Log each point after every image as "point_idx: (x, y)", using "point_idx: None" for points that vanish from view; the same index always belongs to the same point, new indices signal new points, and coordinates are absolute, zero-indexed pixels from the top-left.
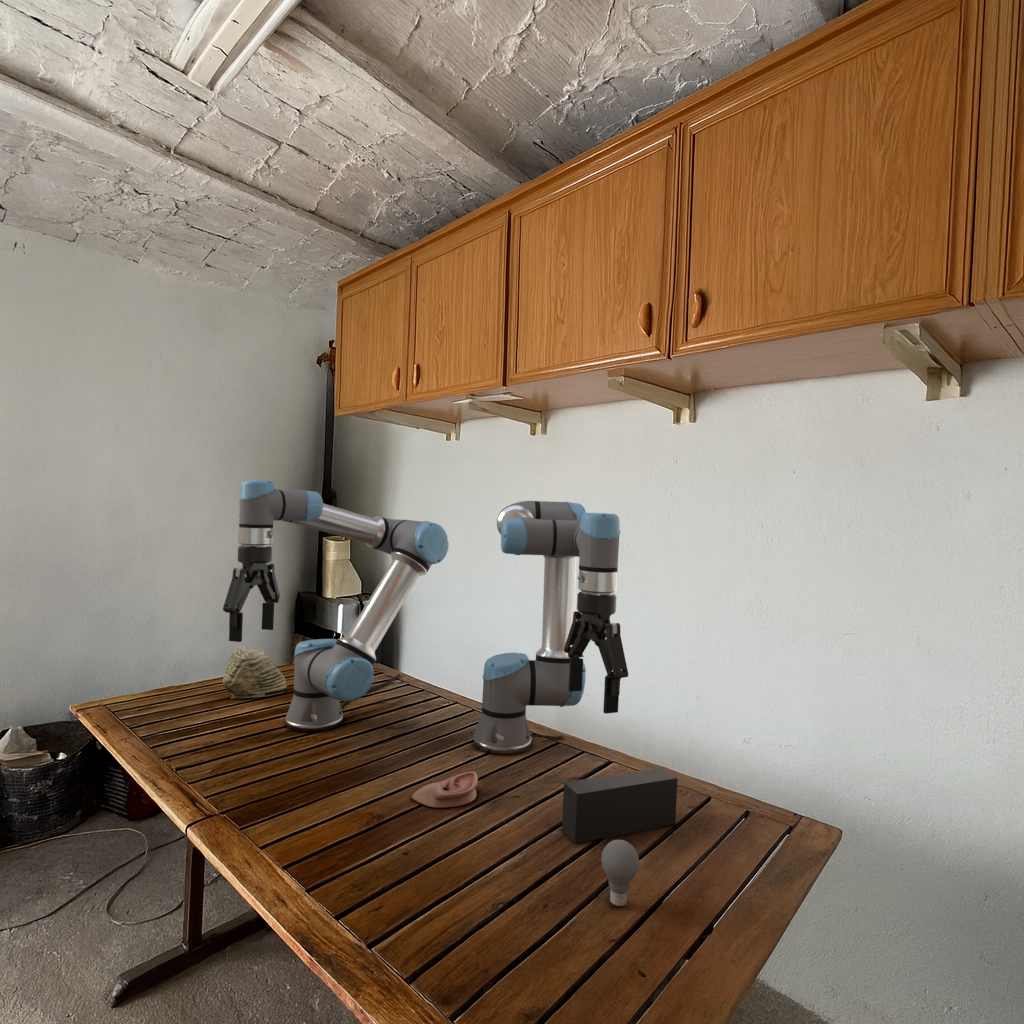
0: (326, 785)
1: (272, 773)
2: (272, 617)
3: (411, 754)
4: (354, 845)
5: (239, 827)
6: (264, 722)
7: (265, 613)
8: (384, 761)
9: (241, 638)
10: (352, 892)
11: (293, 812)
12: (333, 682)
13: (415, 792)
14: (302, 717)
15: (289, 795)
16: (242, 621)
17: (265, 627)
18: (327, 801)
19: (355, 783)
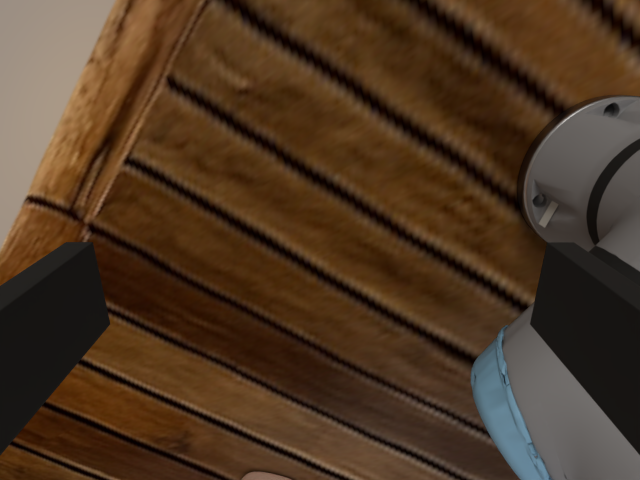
0: (254, 344)
1: (271, 229)
2: (595, 396)
3: (423, 428)
4: (97, 443)
5: None
6: (591, 28)
7: (635, 357)
8: (381, 397)
9: (94, 335)
10: (7, 472)
11: (143, 336)
12: (474, 395)
13: (258, 478)
14: (542, 184)
15: (195, 303)
16: (6, 445)
17: (549, 283)
18: (199, 368)
19: (277, 383)
